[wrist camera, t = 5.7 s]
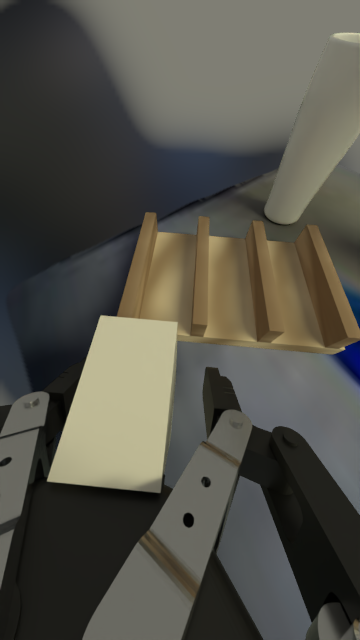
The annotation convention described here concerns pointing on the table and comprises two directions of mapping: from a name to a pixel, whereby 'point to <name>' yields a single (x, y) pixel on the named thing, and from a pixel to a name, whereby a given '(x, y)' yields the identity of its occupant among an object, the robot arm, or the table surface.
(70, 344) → the table surface
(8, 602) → the robot arm
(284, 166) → the drinking glass
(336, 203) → the table surface
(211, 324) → the ridged wooden tray
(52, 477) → the cream rectangular block
